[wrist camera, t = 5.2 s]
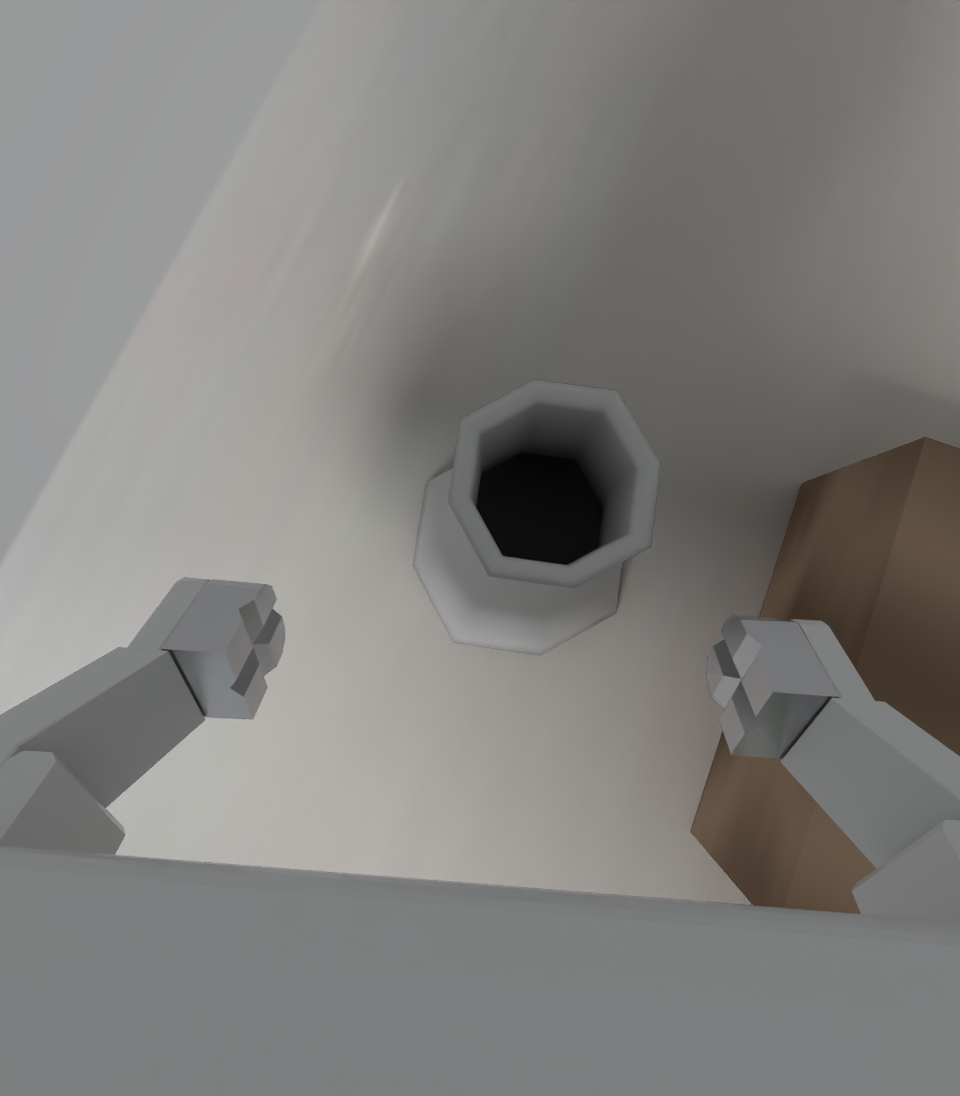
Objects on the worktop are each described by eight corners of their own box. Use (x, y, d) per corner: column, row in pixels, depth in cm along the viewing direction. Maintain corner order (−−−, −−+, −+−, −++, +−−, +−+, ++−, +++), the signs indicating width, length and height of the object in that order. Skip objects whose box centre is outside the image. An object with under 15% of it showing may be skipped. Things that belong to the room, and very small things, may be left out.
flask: (396, 463, 18) (279, 295, 8) (603, 425, 18) (742, 211, 8) (431, 673, 17) (348, 776, 7) (646, 635, 17) (858, 686, 7)
